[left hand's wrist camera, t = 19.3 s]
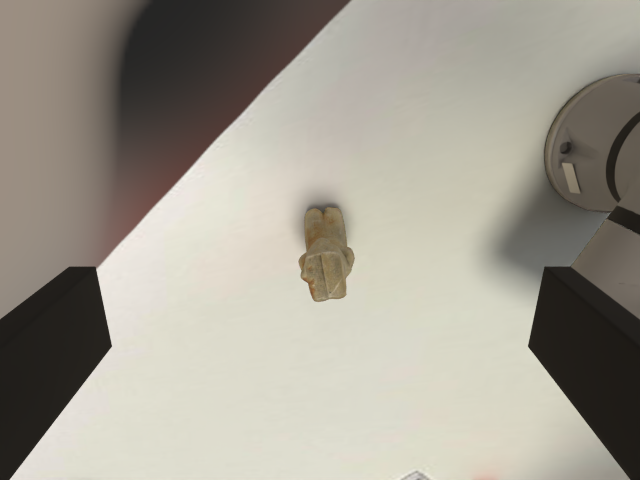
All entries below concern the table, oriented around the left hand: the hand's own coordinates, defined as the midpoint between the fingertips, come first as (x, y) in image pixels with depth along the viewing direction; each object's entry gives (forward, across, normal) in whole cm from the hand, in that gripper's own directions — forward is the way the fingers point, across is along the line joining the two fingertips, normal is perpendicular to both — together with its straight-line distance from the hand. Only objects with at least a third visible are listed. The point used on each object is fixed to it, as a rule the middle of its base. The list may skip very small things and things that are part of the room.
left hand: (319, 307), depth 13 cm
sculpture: (+39, +1, -12) cm, 41 cm away
